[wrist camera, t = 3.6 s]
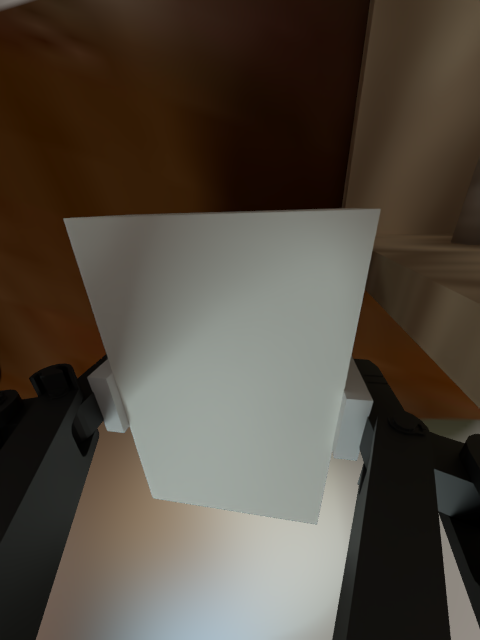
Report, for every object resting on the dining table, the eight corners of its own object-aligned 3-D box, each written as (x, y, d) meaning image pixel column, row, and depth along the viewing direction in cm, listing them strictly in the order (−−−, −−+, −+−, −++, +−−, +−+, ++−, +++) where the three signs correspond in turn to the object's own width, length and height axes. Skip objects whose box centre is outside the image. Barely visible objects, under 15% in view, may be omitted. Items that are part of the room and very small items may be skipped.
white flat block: (176, 444, 15) (152, 498, 12) (126, 214, 9) (62, 218, 6) (309, 461, 13) (317, 524, 11) (347, 208, 8) (380, 209, 5)
